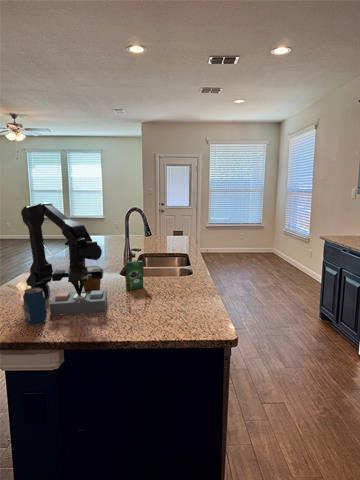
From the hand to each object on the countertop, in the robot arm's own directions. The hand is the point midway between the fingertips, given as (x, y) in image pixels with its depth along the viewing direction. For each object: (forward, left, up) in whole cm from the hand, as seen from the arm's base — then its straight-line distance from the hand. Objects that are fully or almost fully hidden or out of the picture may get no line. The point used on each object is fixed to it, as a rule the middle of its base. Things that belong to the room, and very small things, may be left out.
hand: (79, 295), depth 124 cm
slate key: (+7, 0, -3) cm, 7 cm away
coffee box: (+22, +20, -5) cm, 30 cm away
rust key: (-7, 0, -3) cm, 7 cm away
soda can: (-14, -11, -5) cm, 18 cm away
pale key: (0, 0, -4) cm, 4 cm away
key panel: (0, 0, -5) cm, 5 cm away
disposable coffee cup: (+3, +15, -5) cm, 16 cm away
